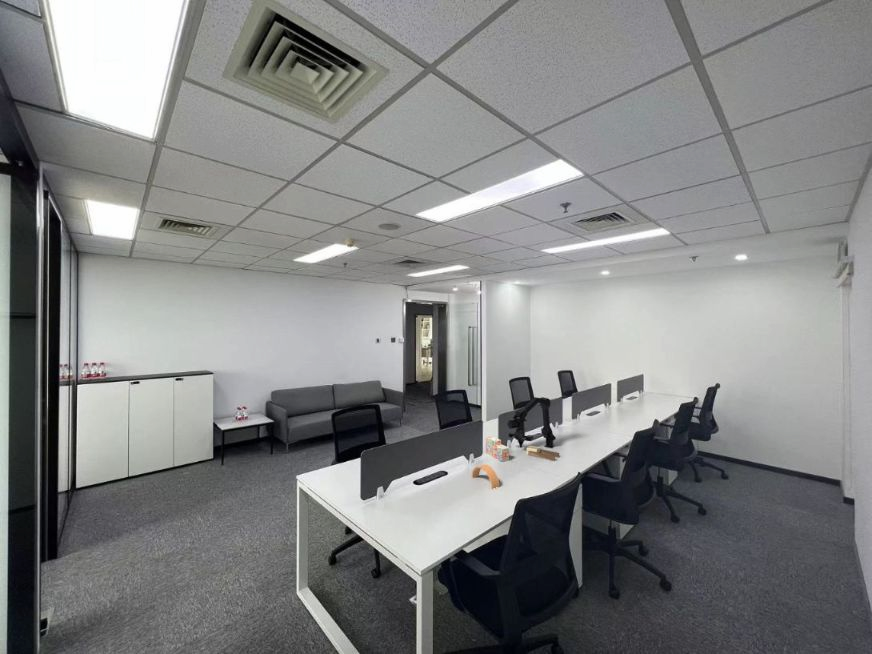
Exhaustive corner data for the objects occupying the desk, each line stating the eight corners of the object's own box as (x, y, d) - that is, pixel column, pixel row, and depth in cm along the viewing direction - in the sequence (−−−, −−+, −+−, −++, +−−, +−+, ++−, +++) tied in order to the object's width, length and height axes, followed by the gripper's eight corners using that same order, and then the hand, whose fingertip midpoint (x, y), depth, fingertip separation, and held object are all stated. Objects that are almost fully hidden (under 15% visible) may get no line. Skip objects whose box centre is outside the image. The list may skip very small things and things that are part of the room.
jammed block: (529, 451, 270) (529, 445, 270) (539, 453, 265) (539, 447, 265) (526, 453, 265) (526, 447, 265) (536, 455, 260) (536, 449, 260)
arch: (492, 489, 206) (491, 472, 206) (471, 477, 223) (471, 462, 223) (499, 487, 209) (499, 470, 209) (478, 475, 226) (478, 460, 226)
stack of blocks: (509, 460, 252) (509, 443, 252) (502, 462, 249) (501, 444, 249) (492, 451, 271) (492, 435, 271) (485, 452, 269) (485, 436, 269)
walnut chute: (533, 451, 270) (533, 447, 270) (559, 456, 258) (559, 452, 258) (528, 455, 262) (528, 451, 262) (554, 461, 250) (554, 456, 250)
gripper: (505, 427, 271) (505, 447, 270) (527, 431, 259) (528, 452, 259) (511, 424, 279) (511, 443, 279) (533, 428, 268) (534, 448, 268)
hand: (520, 447), depth 271 cm, fingers closed
